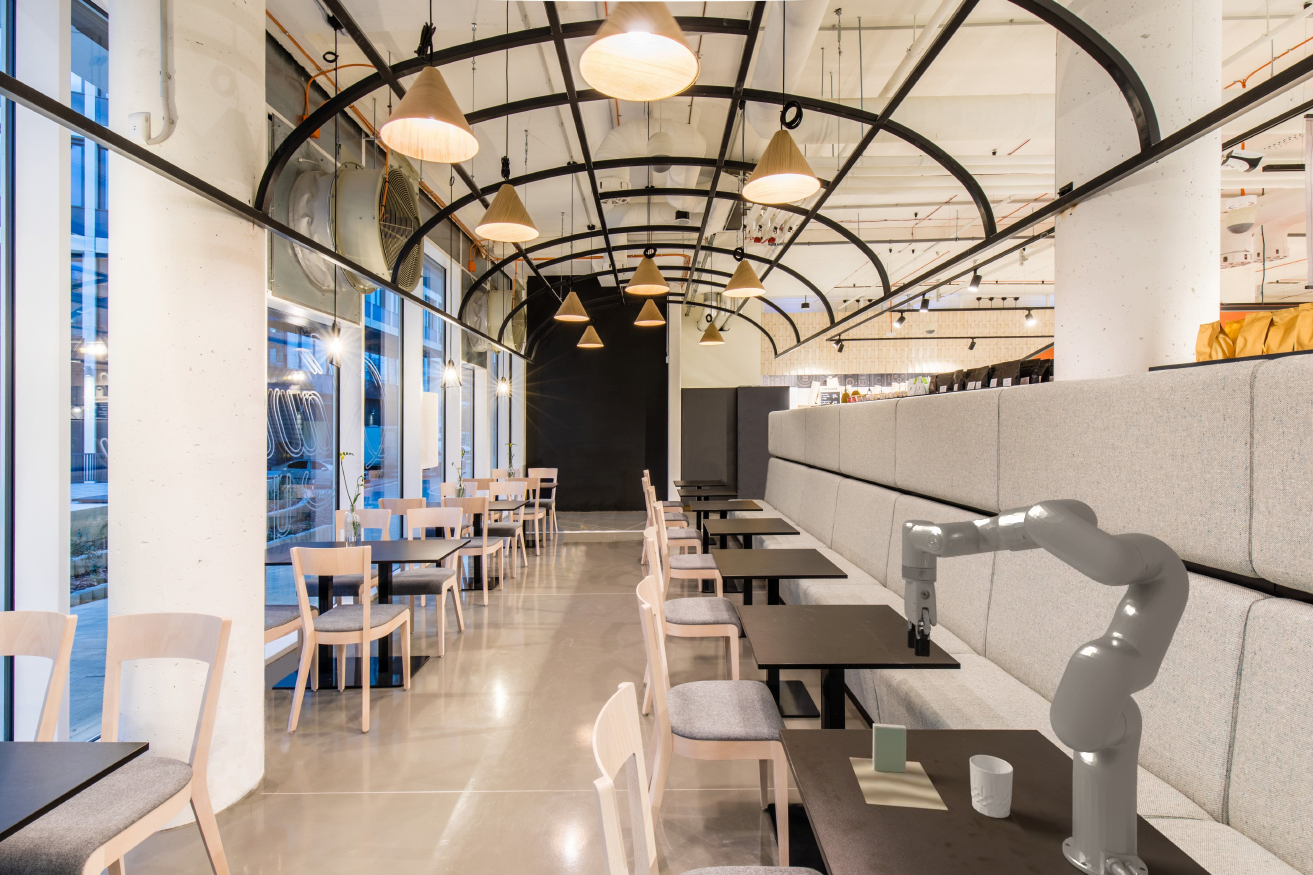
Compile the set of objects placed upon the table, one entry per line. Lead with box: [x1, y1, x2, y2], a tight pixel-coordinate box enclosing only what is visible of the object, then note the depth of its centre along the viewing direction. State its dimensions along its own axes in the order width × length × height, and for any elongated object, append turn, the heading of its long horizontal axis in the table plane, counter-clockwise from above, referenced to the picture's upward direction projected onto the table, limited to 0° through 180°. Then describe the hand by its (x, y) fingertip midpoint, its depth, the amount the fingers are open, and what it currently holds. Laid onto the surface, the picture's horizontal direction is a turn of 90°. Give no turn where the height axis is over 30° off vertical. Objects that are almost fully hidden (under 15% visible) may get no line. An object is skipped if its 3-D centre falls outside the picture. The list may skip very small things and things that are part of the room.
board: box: [849, 756, 949, 811], centre depth 140 cm, size 20×16×1 cm
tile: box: [872, 723, 907, 773], centre depth 145 cm, size 2×7×10 cm, turn 83°
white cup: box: [969, 754, 1014, 819], centre depth 130 cm, size 8×8×10 cm
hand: (918, 651), depth 148 cm, fingers open, 5 cm apart
